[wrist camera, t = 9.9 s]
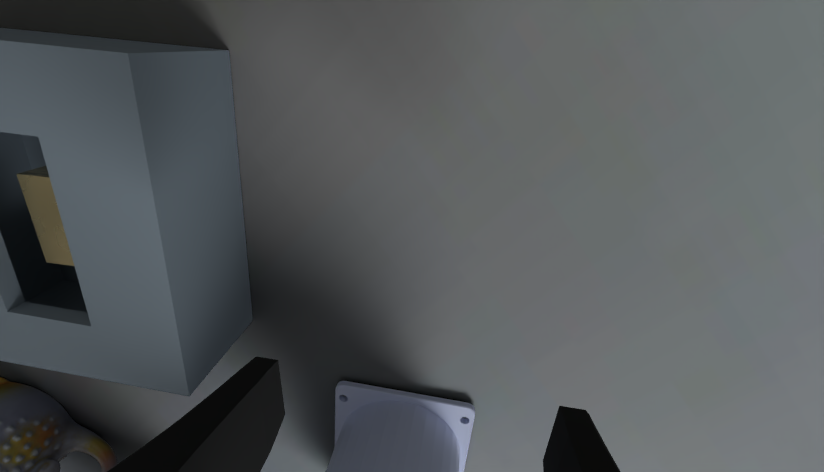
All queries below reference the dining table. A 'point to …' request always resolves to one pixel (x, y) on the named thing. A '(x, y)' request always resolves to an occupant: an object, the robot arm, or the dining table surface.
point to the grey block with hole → (122, 209)
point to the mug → (42, 432)
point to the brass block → (45, 215)
